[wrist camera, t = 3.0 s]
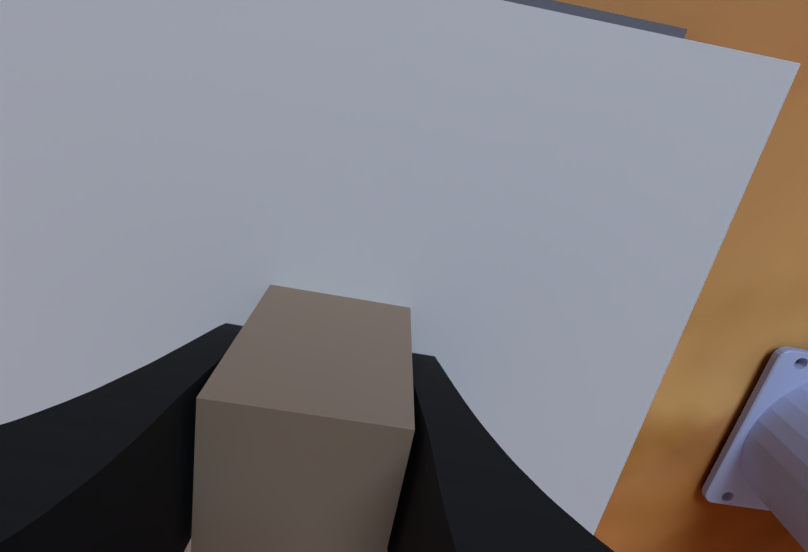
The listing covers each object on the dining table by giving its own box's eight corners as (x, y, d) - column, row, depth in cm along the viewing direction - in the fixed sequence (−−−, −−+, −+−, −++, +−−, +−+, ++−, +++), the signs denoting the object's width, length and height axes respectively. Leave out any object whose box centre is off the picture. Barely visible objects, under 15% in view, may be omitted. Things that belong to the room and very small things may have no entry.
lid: (776, 64, 9) (1092, 49, 5) (550, 598, 15) (611, 809, 10) (-46, -110, 8) (-522, -314, 4) (33, 533, 14) (-135, 738, 9)
